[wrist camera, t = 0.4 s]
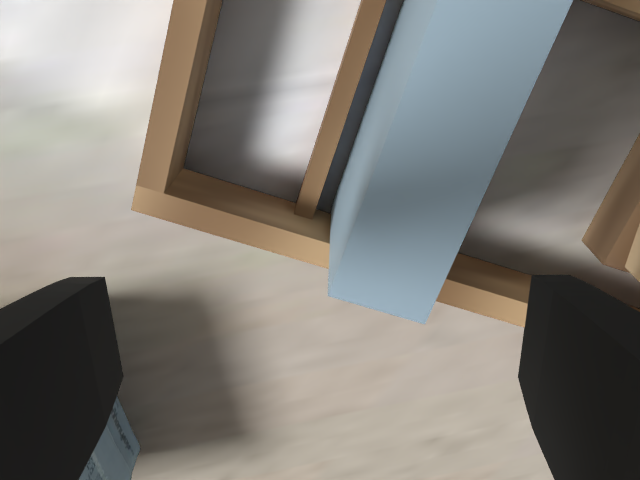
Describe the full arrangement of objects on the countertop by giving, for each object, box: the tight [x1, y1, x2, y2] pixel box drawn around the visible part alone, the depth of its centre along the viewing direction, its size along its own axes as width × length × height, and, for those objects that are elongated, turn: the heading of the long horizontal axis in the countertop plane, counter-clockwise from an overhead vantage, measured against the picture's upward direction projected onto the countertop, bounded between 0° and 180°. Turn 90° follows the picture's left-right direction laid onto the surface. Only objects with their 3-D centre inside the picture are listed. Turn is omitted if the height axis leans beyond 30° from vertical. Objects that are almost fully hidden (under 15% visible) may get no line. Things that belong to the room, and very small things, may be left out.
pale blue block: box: [328, 0, 573, 324], centre depth 16 cm, size 2×8×6 cm, turn 163°
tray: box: [131, 0, 640, 327], centre depth 18 cm, size 20×10×2 cm, turn 72°
